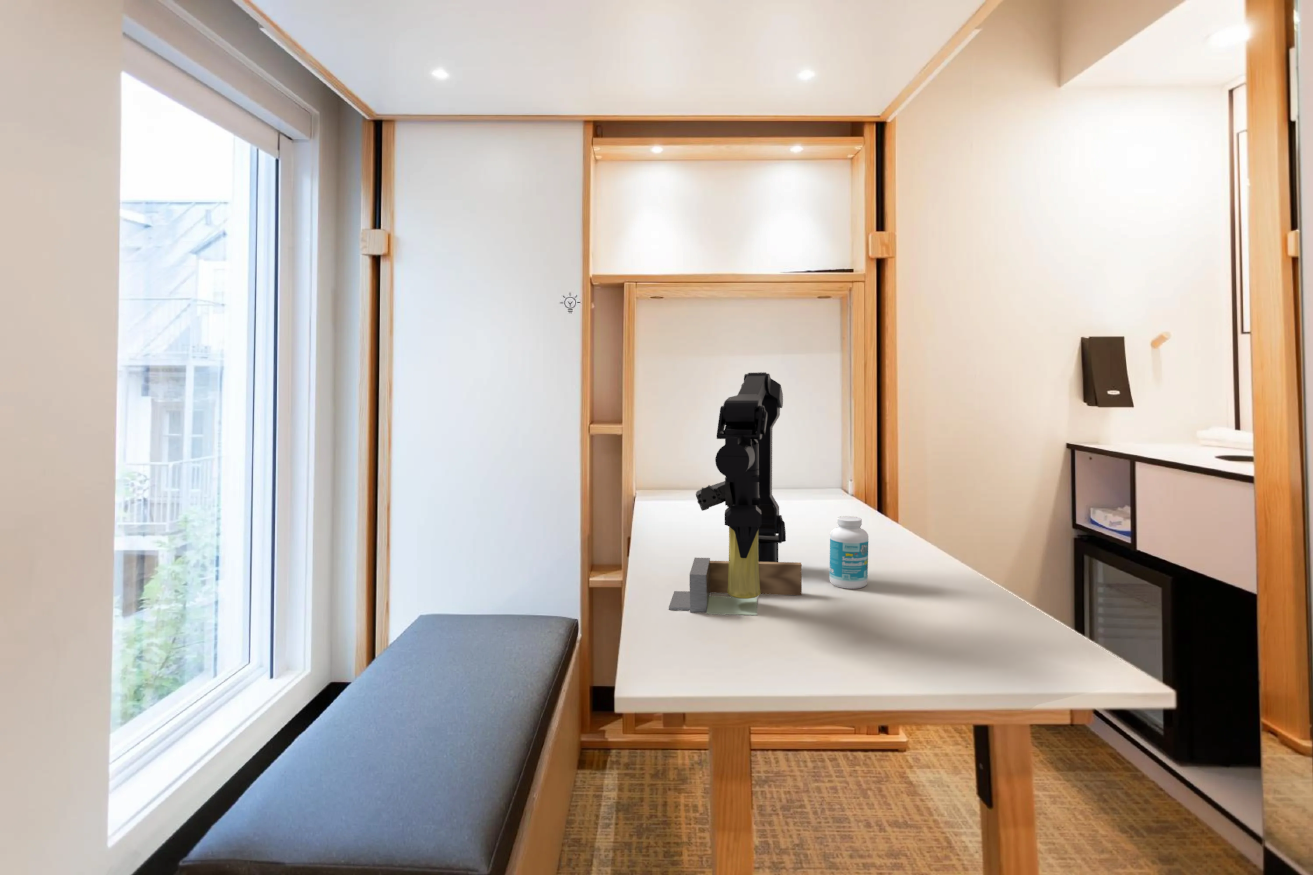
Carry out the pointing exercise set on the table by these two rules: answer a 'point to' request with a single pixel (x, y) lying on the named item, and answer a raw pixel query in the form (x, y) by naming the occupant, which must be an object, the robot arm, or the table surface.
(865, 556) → the pill bottle
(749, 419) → the robot arm
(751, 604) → the mat
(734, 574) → the vase
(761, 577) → the back rail
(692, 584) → the bookend
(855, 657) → the table surface
